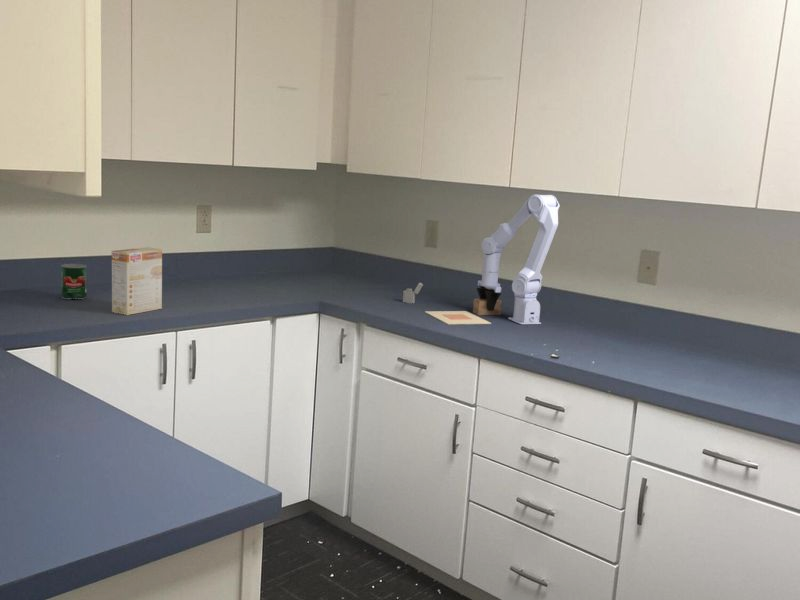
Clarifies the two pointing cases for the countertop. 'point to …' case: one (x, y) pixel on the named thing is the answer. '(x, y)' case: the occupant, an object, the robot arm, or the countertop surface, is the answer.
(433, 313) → the mat
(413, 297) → the lighter
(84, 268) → the canned tomato
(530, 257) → the robot arm
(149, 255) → the coffeecake box
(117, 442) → the countertop surface
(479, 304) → the walnut block
